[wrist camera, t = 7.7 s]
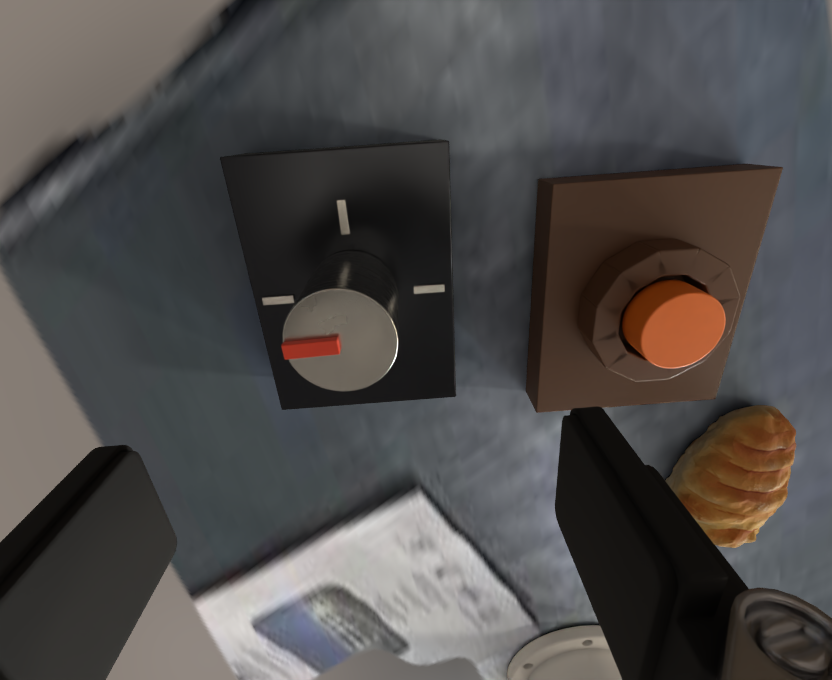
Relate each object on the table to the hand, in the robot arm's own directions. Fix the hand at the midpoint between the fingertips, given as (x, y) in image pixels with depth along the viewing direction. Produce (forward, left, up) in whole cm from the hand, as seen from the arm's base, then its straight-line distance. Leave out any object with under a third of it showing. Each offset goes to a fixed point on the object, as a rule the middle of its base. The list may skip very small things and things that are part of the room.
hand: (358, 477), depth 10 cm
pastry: (-15, -21, -14) cm, 29 cm away
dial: (0, +1, -11) cm, 11 cm away
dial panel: (0, +1, -14) cm, 14 cm away
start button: (-2, -13, -10) cm, 17 cm away
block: (-2, -13, -14) cm, 19 cm away
